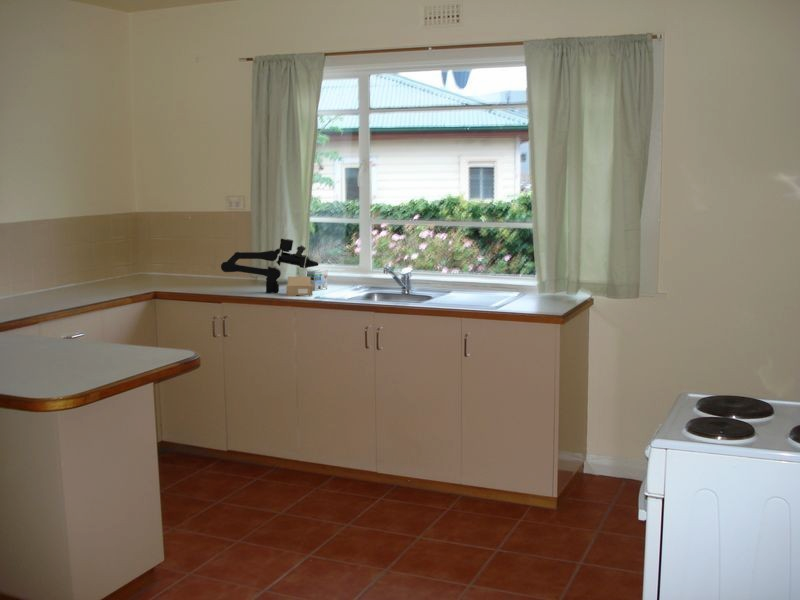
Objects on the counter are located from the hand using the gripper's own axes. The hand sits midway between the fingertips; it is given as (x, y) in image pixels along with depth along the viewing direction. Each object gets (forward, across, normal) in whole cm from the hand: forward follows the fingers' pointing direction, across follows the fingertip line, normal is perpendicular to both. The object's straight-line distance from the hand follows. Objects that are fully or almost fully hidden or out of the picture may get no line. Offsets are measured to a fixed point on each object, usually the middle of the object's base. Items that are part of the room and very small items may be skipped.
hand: (318, 264), depth 475 cm
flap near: (-8, -12, +10) cm, 18 cm away
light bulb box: (+2, +15, +15) cm, 21 cm away
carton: (-7, -7, +18) cm, 20 cm away
